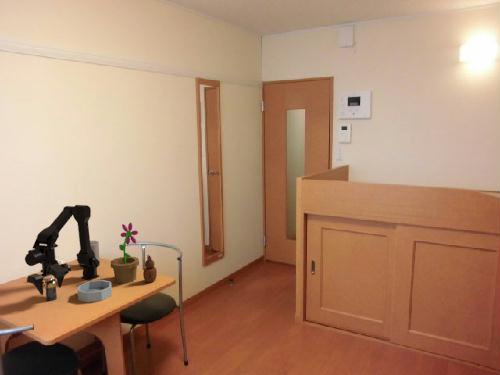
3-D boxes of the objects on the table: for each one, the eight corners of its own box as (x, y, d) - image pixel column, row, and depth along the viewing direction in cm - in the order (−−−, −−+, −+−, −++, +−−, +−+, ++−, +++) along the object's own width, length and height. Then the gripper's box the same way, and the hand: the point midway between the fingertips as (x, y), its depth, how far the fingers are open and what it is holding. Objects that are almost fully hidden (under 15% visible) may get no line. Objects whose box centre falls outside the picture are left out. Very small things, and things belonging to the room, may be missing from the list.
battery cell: (52, 296, 187) (51, 276, 185) (59, 298, 185) (57, 278, 183) (44, 300, 183) (42, 280, 181) (50, 301, 181) (48, 281, 179)
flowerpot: (145, 277, 210) (143, 222, 205) (125, 287, 197) (122, 228, 193) (125, 273, 216) (123, 219, 212) (105, 282, 204) (101, 225, 199)
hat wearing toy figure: (64, 275, 213) (62, 254, 211) (64, 277, 209) (63, 256, 207) (45, 278, 208) (43, 256, 207) (45, 281, 205) (43, 258, 203)
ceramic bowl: (96, 287, 197) (95, 278, 197) (118, 292, 191) (117, 283, 190) (71, 298, 184) (71, 289, 184) (94, 304, 178) (93, 294, 177)
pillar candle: (78, 268, 224) (76, 242, 221) (87, 262, 233) (86, 237, 231) (94, 269, 222) (92, 243, 220) (103, 263, 231) (102, 238, 229)
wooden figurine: (149, 284, 200) (148, 256, 198) (141, 282, 203) (140, 254, 201) (159, 280, 206) (158, 252, 204) (151, 278, 209) (150, 250, 207)
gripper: (41, 268, 169) (44, 302, 171) (77, 255, 186) (80, 287, 188) (24, 264, 174) (27, 297, 176) (61, 252, 190) (63, 282, 193)
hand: (51, 291), depth 183 cm, fingers open, 9 cm apart
